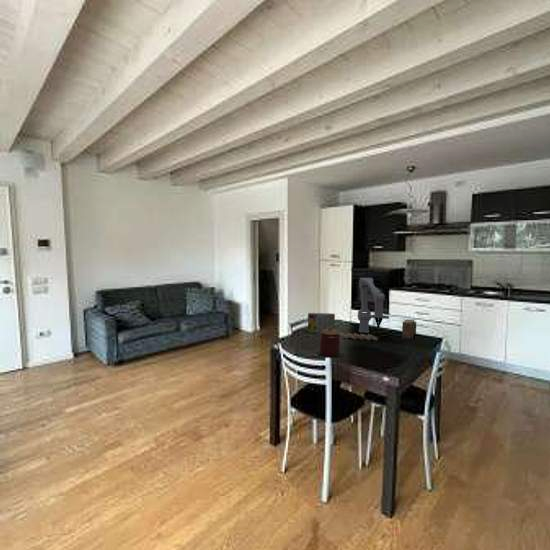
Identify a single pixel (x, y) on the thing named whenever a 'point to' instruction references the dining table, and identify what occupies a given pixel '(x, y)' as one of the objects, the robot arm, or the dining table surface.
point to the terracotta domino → (358, 336)
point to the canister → (330, 342)
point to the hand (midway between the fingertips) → (378, 327)
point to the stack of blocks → (408, 329)
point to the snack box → (320, 321)
